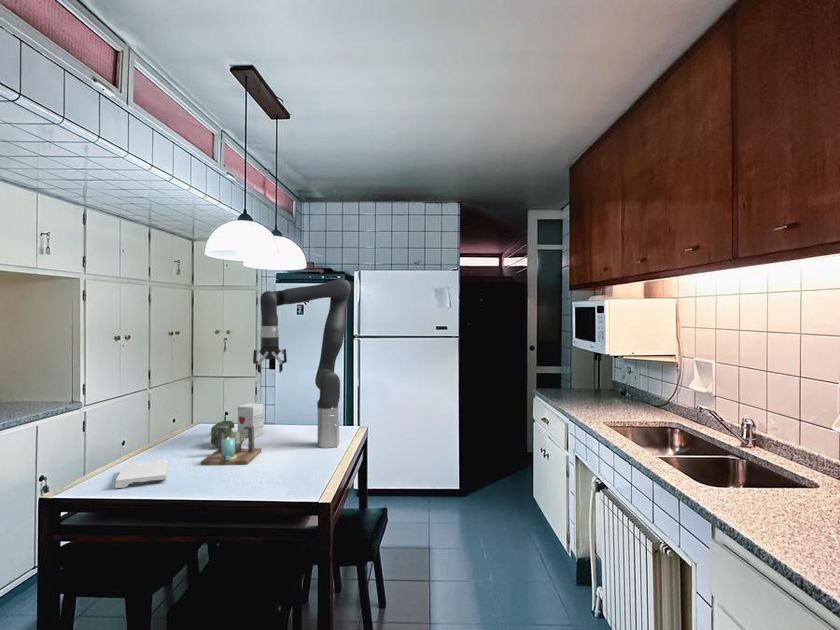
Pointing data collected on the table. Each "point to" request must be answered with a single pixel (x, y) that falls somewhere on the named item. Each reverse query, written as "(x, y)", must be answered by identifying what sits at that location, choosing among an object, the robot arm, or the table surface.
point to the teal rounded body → (228, 448)
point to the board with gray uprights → (241, 454)
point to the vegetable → (226, 432)
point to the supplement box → (251, 418)
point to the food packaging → (142, 473)
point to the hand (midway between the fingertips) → (270, 372)
